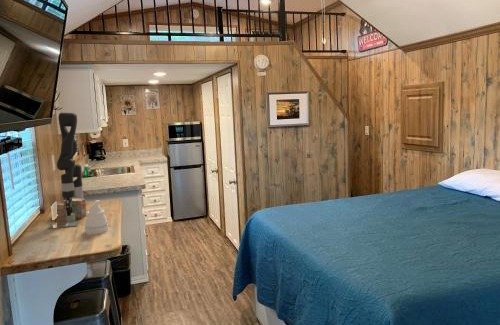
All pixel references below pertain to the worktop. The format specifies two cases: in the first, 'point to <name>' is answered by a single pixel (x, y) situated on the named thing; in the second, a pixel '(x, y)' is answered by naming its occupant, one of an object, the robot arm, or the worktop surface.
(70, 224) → the slate board
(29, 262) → the worktop surface
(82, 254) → the worktop surface
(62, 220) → the walnut cube
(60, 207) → the stack of blocks
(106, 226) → the white tiered cone
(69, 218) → the sage cube
